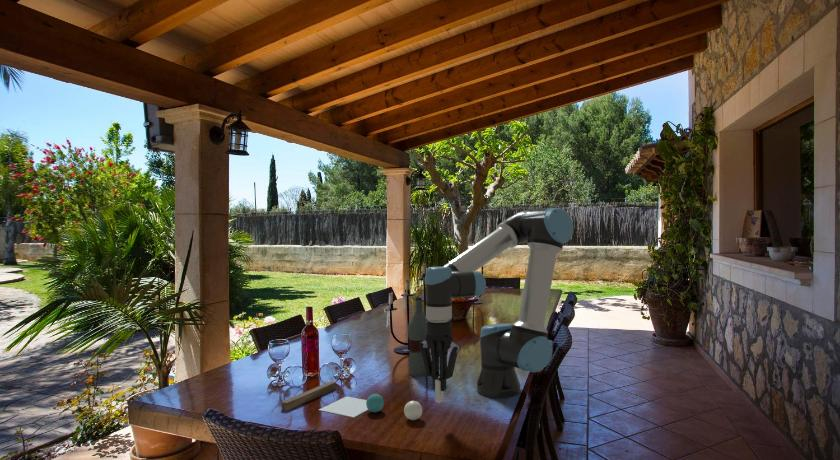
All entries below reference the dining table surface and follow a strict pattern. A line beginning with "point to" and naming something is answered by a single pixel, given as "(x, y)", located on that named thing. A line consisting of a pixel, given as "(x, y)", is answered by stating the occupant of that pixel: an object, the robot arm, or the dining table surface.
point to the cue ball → (413, 410)
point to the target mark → (347, 407)
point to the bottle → (417, 340)
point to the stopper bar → (308, 395)
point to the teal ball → (374, 403)
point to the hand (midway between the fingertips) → (439, 401)
